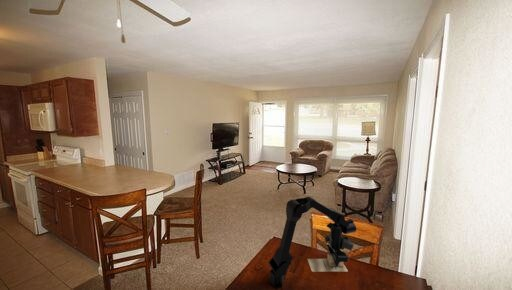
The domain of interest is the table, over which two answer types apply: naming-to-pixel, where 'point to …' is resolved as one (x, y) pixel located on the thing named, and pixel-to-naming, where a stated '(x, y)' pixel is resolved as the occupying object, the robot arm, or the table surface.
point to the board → (323, 266)
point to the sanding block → (331, 261)
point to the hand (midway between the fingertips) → (335, 263)
